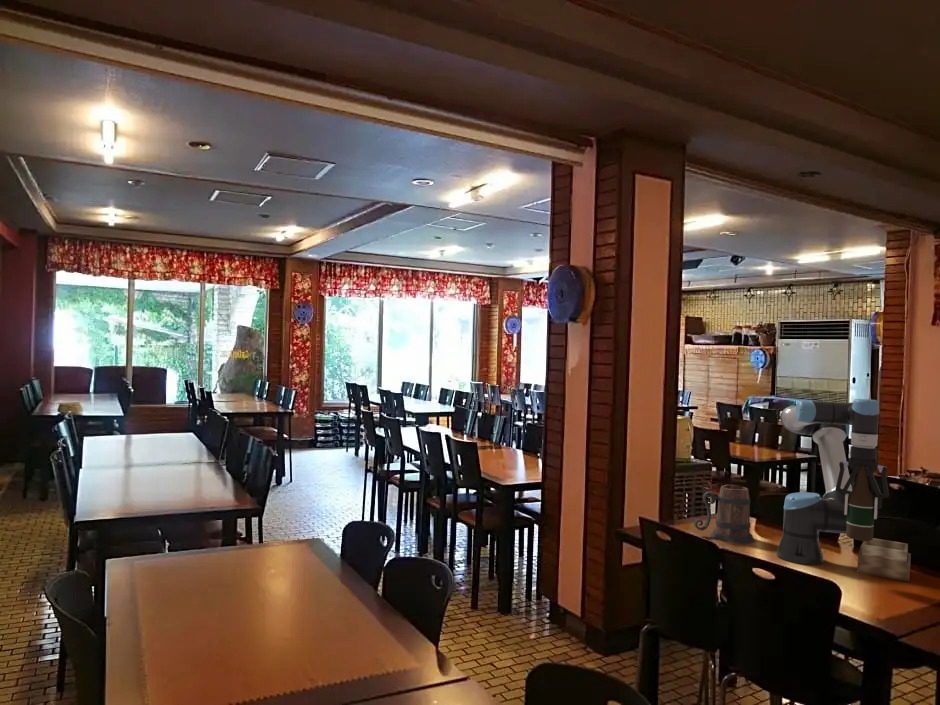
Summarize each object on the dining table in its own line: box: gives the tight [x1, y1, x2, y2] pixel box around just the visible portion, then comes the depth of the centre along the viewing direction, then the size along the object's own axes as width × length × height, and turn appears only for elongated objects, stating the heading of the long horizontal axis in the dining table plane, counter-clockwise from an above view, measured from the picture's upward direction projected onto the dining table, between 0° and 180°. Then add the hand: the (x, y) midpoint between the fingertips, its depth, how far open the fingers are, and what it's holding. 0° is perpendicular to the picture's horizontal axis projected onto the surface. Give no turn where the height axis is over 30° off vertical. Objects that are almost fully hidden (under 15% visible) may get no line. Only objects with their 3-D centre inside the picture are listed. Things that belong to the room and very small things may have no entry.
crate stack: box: [856, 537, 912, 583], centre depth 239 cm, size 15×15×9 cm
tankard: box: [693, 484, 756, 544], centre depth 276 cm, size 24×17×20 cm
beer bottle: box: [845, 465, 875, 542], centre depth 228 cm, size 8×8×24 cm
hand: (860, 516), depth 228 cm, fingers closed on beer bottle, 8 cm apart
